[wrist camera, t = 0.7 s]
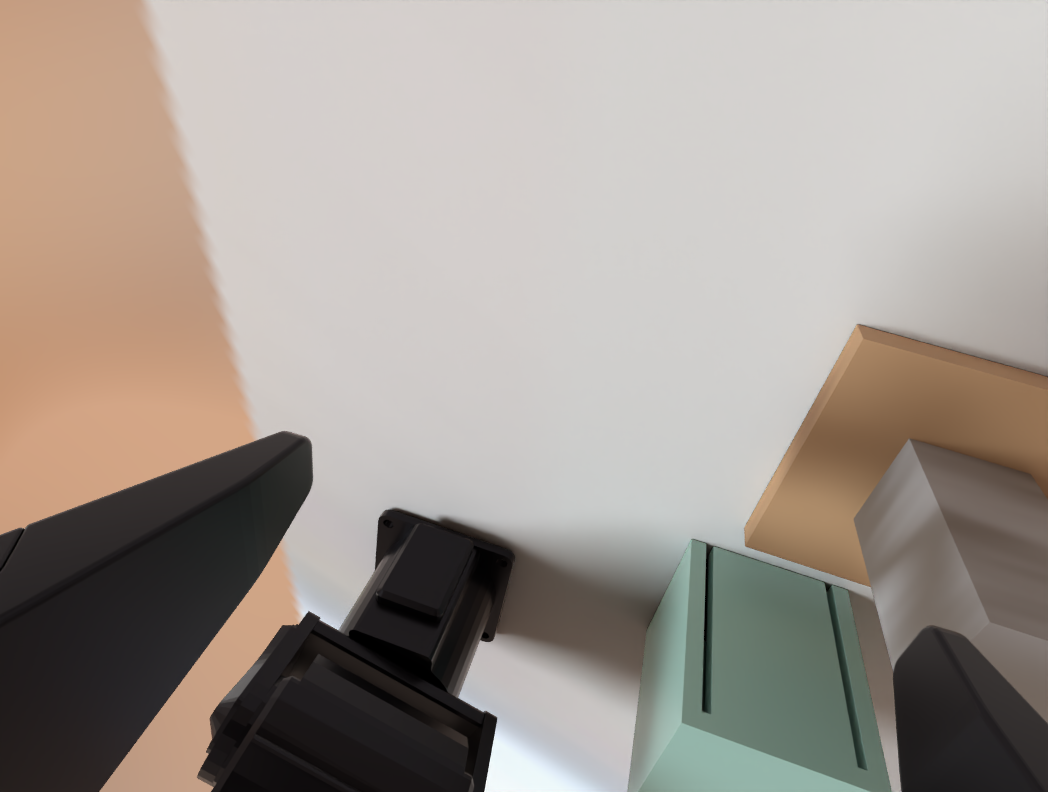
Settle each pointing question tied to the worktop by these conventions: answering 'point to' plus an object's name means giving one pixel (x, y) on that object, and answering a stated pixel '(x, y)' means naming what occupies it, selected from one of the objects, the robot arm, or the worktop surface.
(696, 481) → the worktop surface
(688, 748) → the slotted green cube
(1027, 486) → the tan base with block
